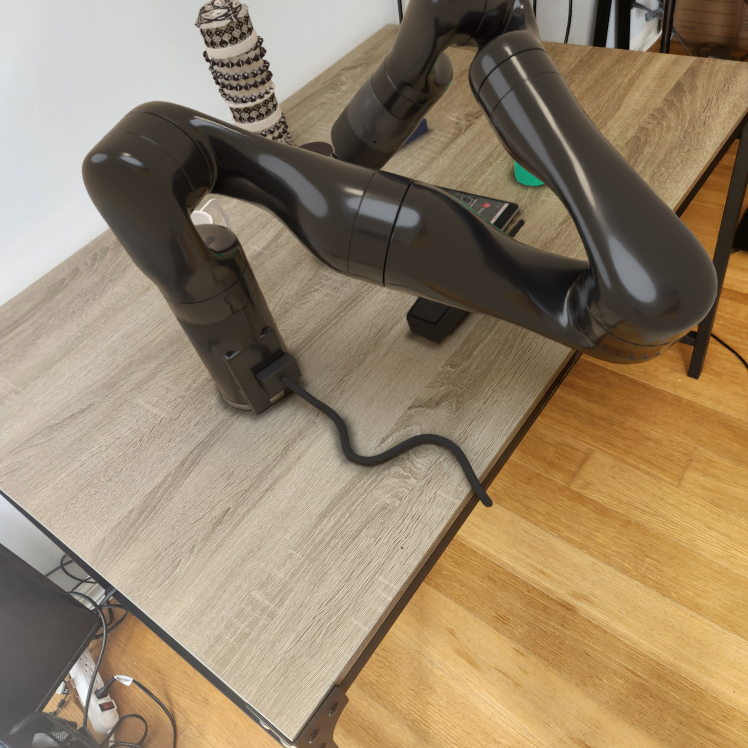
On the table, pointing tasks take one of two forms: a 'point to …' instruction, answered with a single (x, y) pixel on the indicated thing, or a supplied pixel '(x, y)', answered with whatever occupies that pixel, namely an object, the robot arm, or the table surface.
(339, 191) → the robot arm
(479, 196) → the smartphone
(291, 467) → the table surface
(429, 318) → the walkie-talkie
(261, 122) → the decorative candle
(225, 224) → the cup
